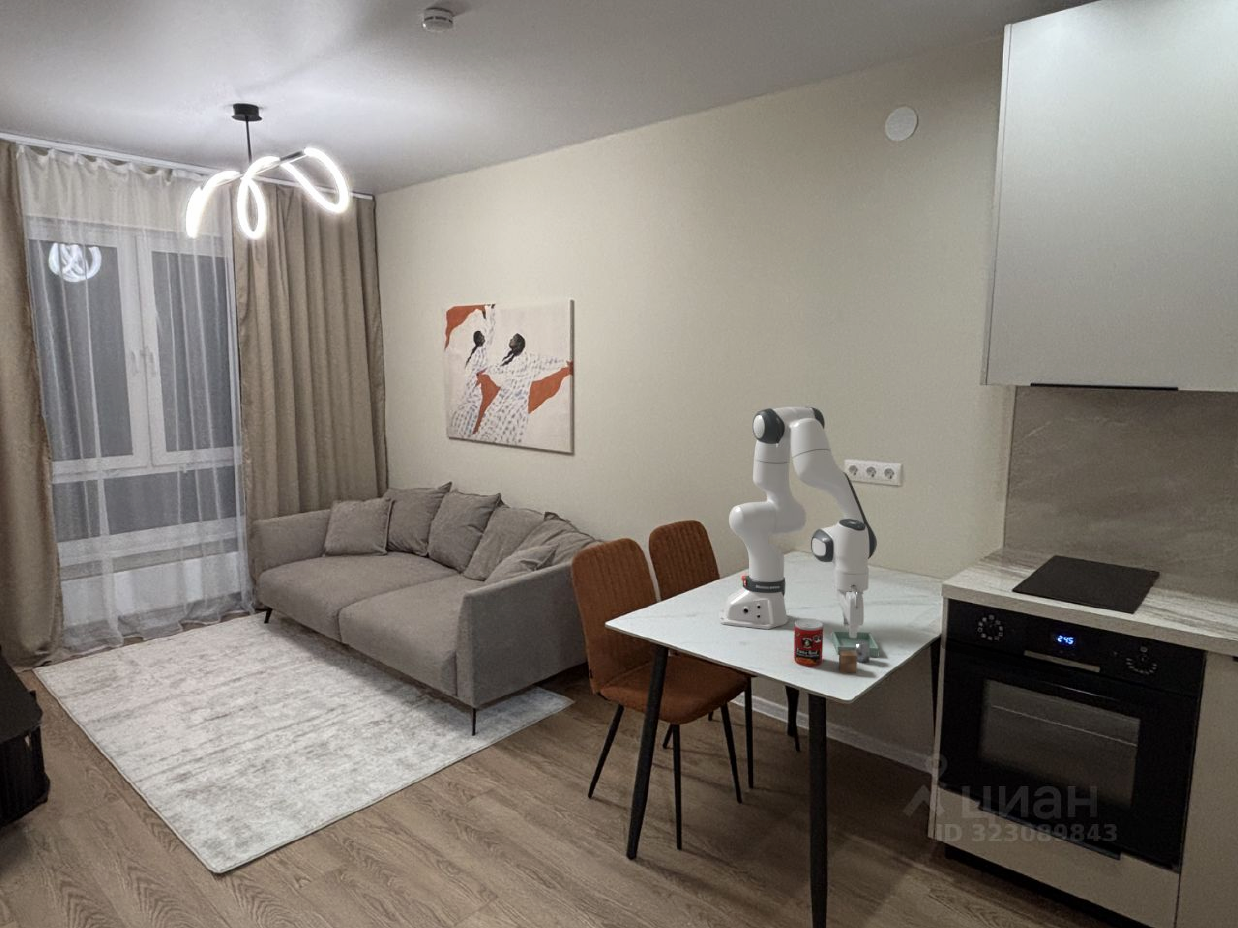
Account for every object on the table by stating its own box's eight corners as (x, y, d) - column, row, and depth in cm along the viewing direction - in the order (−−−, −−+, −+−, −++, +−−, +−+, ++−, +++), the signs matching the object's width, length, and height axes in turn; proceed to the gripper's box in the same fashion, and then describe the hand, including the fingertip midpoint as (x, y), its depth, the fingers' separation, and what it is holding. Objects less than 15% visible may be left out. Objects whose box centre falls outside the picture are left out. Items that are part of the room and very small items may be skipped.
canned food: (792, 664, 208) (792, 626, 206) (796, 654, 215) (796, 617, 214) (820, 668, 205) (821, 629, 204) (823, 658, 213) (824, 620, 211)
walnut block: (840, 673, 202) (841, 655, 202) (838, 667, 206) (839, 649, 205) (856, 673, 202) (857, 655, 201) (853, 667, 206) (854, 650, 205)
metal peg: (855, 663, 209) (856, 645, 208) (853, 657, 213) (853, 640, 212) (870, 663, 208) (871, 646, 208) (867, 658, 212) (868, 641, 212)
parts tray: (837, 654, 215) (837, 646, 214) (831, 638, 228) (831, 630, 227) (878, 656, 213) (878, 648, 213) (869, 640, 226) (870, 632, 226)
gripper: (870, 592, 190) (869, 645, 191) (857, 571, 210) (855, 619, 211) (844, 591, 191) (843, 644, 192) (833, 571, 211) (832, 619, 212)
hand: (849, 631), depth 202 cm, fingers open, 8 cm apart
